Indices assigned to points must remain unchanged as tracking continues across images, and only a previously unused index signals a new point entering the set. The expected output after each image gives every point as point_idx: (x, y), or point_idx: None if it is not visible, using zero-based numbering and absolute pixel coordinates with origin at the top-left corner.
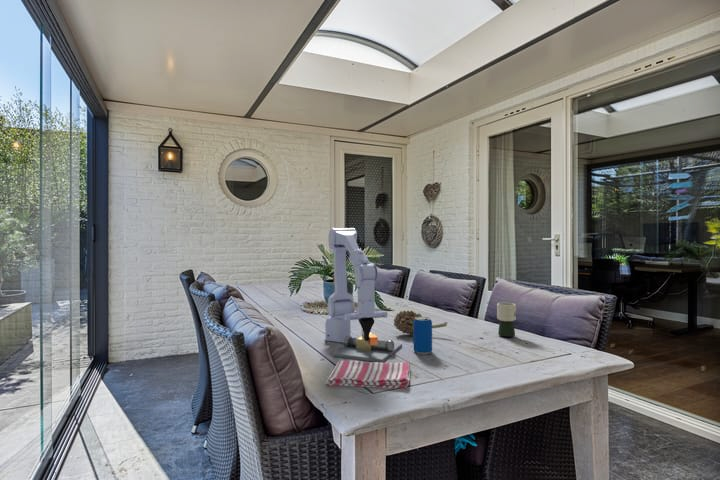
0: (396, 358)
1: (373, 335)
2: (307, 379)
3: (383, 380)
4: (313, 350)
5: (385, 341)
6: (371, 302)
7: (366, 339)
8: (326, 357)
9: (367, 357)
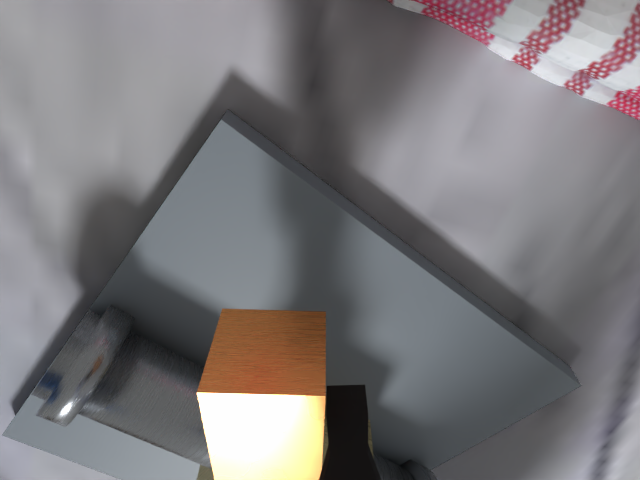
0: (67, 192)
1: (245, 458)
2: None
3: None
4: (617, 475)
5: (114, 415)
6: None
7: (364, 399)
8: (629, 359)
9: (356, 227)
